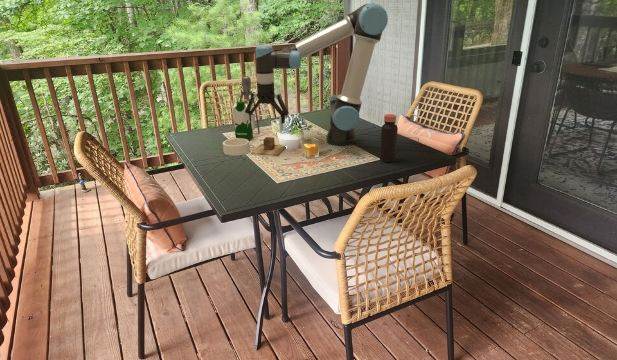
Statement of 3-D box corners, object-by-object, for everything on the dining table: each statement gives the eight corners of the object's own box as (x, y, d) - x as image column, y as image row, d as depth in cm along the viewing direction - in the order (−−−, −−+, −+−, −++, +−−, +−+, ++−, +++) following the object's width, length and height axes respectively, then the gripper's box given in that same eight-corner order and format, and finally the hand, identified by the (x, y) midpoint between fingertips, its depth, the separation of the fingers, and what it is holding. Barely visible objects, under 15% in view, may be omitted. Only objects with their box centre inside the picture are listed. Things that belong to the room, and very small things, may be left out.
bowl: (253, 149, 200) (252, 139, 198) (243, 157, 190) (242, 147, 188) (230, 147, 203) (229, 137, 201) (219, 155, 193) (218, 145, 191)
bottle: (385, 156, 187) (388, 112, 179) (398, 160, 183) (401, 115, 175) (376, 160, 183) (378, 115, 175) (389, 164, 178) (392, 118, 171)
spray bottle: (259, 133, 224) (255, 77, 212) (238, 134, 224) (233, 77, 212) (261, 128, 233) (258, 74, 221) (241, 129, 233) (237, 74, 221)
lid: (286, 147, 200) (286, 135, 198) (278, 156, 189) (277, 143, 186) (261, 145, 203) (260, 133, 201) (251, 154, 192) (250, 141, 190)
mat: (289, 147, 201) (289, 146, 201) (279, 158, 188) (279, 157, 188) (260, 145, 205) (260, 144, 205) (248, 155, 192) (248, 154, 191)
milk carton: (234, 142, 211) (230, 103, 203) (238, 137, 219) (235, 99, 211) (251, 142, 210) (248, 103, 202) (255, 137, 218) (252, 99, 210)
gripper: (294, 82, 184) (295, 128, 192) (242, 80, 190) (245, 125, 198) (289, 85, 177) (290, 133, 186) (235, 82, 183) (239, 129, 192)
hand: (267, 129), depth 192 cm, fingers open, 13 cm apart
